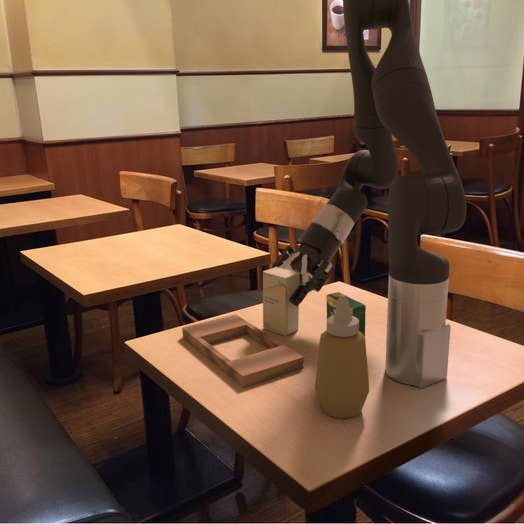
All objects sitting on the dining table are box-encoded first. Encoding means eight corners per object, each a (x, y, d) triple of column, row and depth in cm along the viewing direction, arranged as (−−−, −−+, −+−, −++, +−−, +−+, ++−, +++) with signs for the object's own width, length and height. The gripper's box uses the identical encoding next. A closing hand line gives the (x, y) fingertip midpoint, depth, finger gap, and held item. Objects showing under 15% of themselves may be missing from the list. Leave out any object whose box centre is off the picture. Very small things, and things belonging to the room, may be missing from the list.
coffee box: (324, 363, 100) (325, 293, 96) (338, 359, 101) (339, 290, 98) (350, 383, 93) (352, 308, 90) (365, 379, 94) (367, 305, 91)
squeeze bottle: (336, 389, 92) (337, 283, 86) (379, 407, 86) (383, 294, 81) (303, 410, 86) (302, 297, 81) (347, 430, 81) (350, 311, 75)
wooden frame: (303, 367, 99) (303, 357, 98) (243, 387, 93) (243, 376, 92) (236, 323, 119) (235, 314, 118) (182, 337, 113) (182, 327, 112)
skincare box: (262, 328, 116) (260, 271, 112) (277, 322, 119) (275, 266, 115) (286, 336, 111) (285, 277, 108) (300, 329, 115) (300, 271, 111)
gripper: (296, 215, 119) (250, 277, 117) (339, 228, 108) (289, 298, 105) (316, 236, 123) (272, 296, 121) (360, 250, 112) (312, 318, 109)
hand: (280, 297), depth 113 cm, fingers open, 8 cm apart
